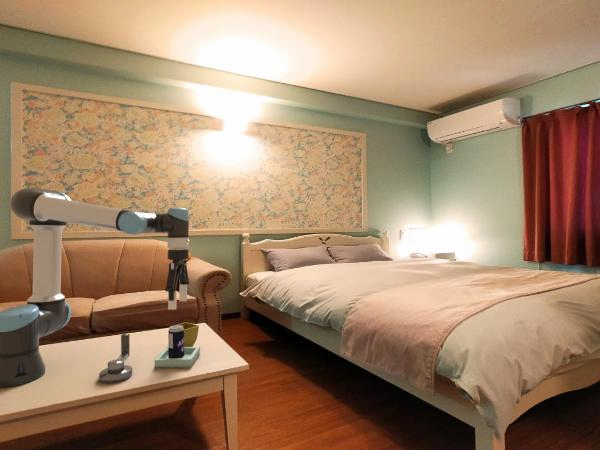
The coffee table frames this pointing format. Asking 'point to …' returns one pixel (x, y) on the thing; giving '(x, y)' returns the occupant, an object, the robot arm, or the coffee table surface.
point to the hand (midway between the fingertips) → (178, 305)
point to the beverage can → (176, 341)
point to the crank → (118, 363)
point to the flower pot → (190, 333)
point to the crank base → (115, 375)
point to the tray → (178, 359)
